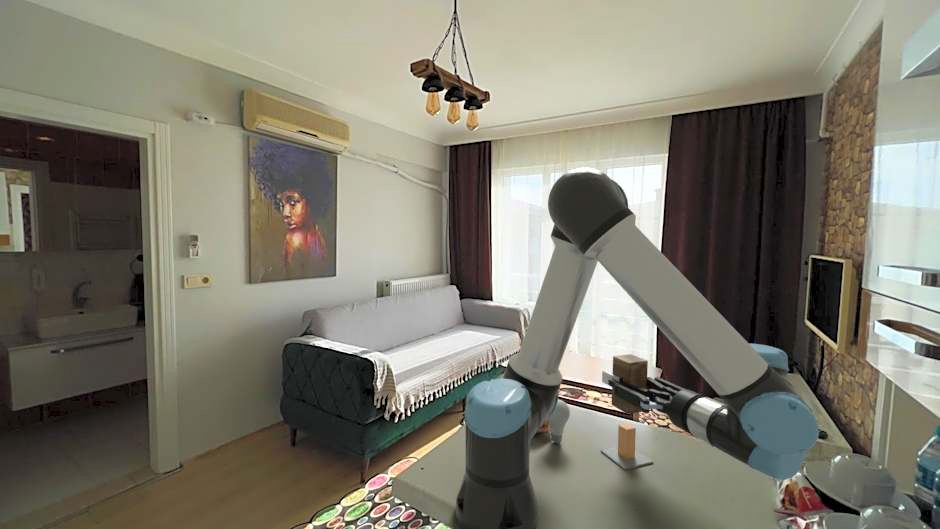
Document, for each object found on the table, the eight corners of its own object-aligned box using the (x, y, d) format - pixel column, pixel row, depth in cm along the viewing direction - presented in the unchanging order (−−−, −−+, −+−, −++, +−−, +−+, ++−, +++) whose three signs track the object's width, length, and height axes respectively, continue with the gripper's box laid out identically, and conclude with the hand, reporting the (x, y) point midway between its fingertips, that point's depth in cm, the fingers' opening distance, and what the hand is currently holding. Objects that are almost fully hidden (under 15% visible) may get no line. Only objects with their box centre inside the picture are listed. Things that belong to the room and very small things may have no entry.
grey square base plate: (624, 470, 85) (625, 437, 84) (600, 451, 92) (601, 421, 92) (652, 463, 87) (654, 431, 87) (627, 445, 95) (628, 416, 94)
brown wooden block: (627, 414, 86) (629, 363, 85) (611, 404, 90) (613, 356, 90) (645, 410, 87) (647, 360, 87) (629, 401, 92) (630, 354, 92)
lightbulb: (567, 437, 99) (568, 395, 98) (570, 450, 93) (571, 405, 92) (542, 436, 99) (543, 394, 99) (545, 448, 93) (546, 404, 93)
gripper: (661, 443, 69) (581, 394, 91) (733, 427, 75) (642, 385, 97) (662, 403, 68) (582, 363, 90) (735, 390, 75) (643, 355, 96)
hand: (613, 374), depth 93 cm, fingers closed on brown wooden block, 5 cm apart
